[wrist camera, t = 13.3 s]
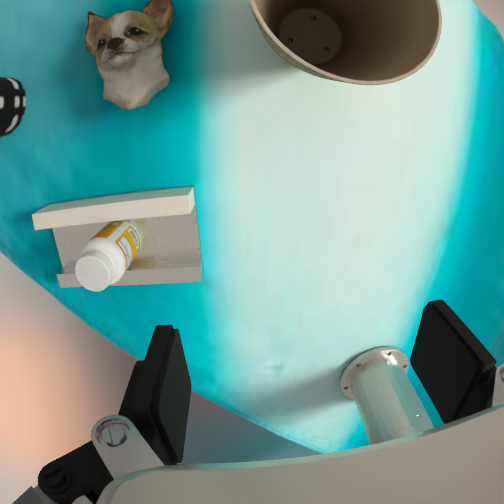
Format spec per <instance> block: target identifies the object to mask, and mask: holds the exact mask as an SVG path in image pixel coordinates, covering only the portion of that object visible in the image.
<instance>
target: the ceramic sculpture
mask: <svg viewBox="0 0 504 504" xmlns="http://www.w3.org/2000/svg"><path fill="white" fill-rule="evenodd" d="M173 12H174V10H173V5H172V2H171V0H150V1H149V2H148V3H147V4H146V6H145V7H144V9H143V13H141V12H139V11H136V10H127V11H123V12H119V13H116V14H114V15H112V16H111V17H109V18H105V17H102V16H99V15H96V14H94V13H93V12H91V11H89V12H88V27H87V31H86V36H85V43H86V45H87V46H86V48H87V50H88V51H89V52H90V53H91V54H92V55H94V56H96V63H97V67H98V72H99V73H100V74H101V77H102V79H103V80H104V91H103V99H105V100H108V101H110V102H112V103H114V104H116V105H117V106H119V107H120V108H123V109H126V110H131V109H135V108H137V107H141V106H144V105H146V104H148V103H149V102H150V100H151V99H152V97H153V96H154V95H155V94H156V93H158V92H159V91H161V90H162V89H163V88H165V87H166V86H167V85H168V83H169V79H170V76H169V74H168V73H167V71H166V70H165V68H164V65H163V61H162V53H163V52H162V46H161V42H160V41H161V39H162V38H163V36H164V35H165V34H166V33H167V31H168V30H169V28H170V26H171V24H172V19H173Z"/></svg>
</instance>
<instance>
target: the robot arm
mask: <svg viewBox="0 0 504 504" xmlns="http://www.w3.org/2000/svg"><path fill="white" fill-rule="evenodd" d="M410 362H411V366H412V367H413V369H414V371H415V372H416V374H417V376H418V378H419V379H420V381H421V383H422V385H423V386H424V388H425V390H426V392H427V393H428V395H429V397H430V399H431V401H432V402H433V404H434V406H435V408H436V410H437V411H438V413H439V415H440V417H441V419H442V421H443V422H444V423H445V424H444V425H441V426H438V427H435V428H434V426H433V424H432V422H431V420H430V418H429V416H428V415H427V413H426V411H425V409H424V407H423V405H422V403H421V401H420V399H419V397H418V396H417V394H416V392H415V390H414V388H413V386H412V384H411V383H410V381H409V379H408V377H407V375H406V373H407V371H408V366H409V364H408V359H407V357H406V355H405V354H404V352H403V351H401V350H400V349H398V348H395V347H378V348H375V349H372V350H369V351H367V352H365V353H363V354H361V355H360V356H358V357H357V358H355V359H354V360H353V361H352V362H351V363H350V364H349V365H348V366H347V367H346V369H345V370H344V371H343V373H342V375H341V379H340V387H341V390H342V392H343V394H344V395H345V396H346V397H347V398H349V399H351V400H354V401H355V402H356V405H357V408H358V411H359V413H360V416H361V419H362V422H363V425H364V428H365V431H366V433H367V436H368V439H369V442H370V445H369V446H364V447H359V448H354V449H349V450H344V451H339V452H333V453H327V454H320V455H314V456H306V457H299V458H290V459H281V460H270V461H256V462H241V463H217V464H181V465H177V463H181V462H182V459H183V450H184V442H185V433H186V425H187V418H188V410H189V402H190V395H191V380H190V376H189V372H188V368H187V364H186V360H185V355H184V351H183V347H182V343H181V338H180V334H179V330H178V329H174V328H173V326H172V325H157V326H156V327H155V330H154V333H153V336H152V339H151V342H150V345H149V348H148V351H147V354H146V357H145V360H144V361H137V362H136V364H135V366H134V369H133V372H132V375H131V378H130V381H129V384H128V387H127V389H126V392H125V396H124V399H123V401H122V405H121V408H120V411H119V414H118V415H110V416H107V417H104V418H102V419H100V420H99V421H98V422H97V423H96V424H95V425H94V427H93V429H92V431H91V438H92V440H91V441H90V442H88V443H86V444H84V445H82V446H81V447H79V448H77V449H75V450H73V451H71V452H70V453H68V454H66V455H64V456H62V457H60V458H58V459H56V460H54V461H52V462H50V463H48V464H47V465H45V466H44V467H43V468H42V470H41V471H40V473H39V476H38V485H37V486H36V487H35V488H33V487H32V486H31V487H30V488H28V489H27V490H26V491H25V492H24V493H23V494H22V495H21V496H20V497H19V498H18V499H17V500H16V501H14V502H13V503H12V504H504V364H502V365H500V366H499V367H498V368H496V367H495V364H496V362H497V361H496V360H495V359H494V358H493V356H492V355H491V354H490V353H489V352H488V350H487V349H486V348H485V347H484V346H483V344H482V343H481V342H480V341H479V340H478V339H477V337H476V336H475V335H474V334H473V333H472V332H471V330H470V329H469V328H468V327H467V326H466V325H465V324H464V323H463V321H462V320H461V319H460V318H459V317H458V316H457V315H456V314H455V313H454V311H453V310H452V309H451V308H450V307H449V306H448V305H447V304H446V303H445V302H444V301H443V300H436V301H430V302H428V304H427V306H425V307H424V310H423V314H422V318H421V322H420V325H419V329H418V333H417V337H416V340H415V344H414V347H413V351H412V354H411V358H410Z"/></svg>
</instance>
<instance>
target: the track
mask: <svg viewBox="0 0 504 504" xmlns="http://www.w3.org/2000/svg"><path fill="white" fill-rule="evenodd" d="M32 219H33V223H34V227H35V230H40V229H48V228H53V233H54V237H55V241H56V245H57V249H58V252H59V256H60V260H61V263H62V267H63V268H62V269H61V270H60V271H59V272H58V273H57V274H56V275H57V278H58V281H59V284H60V287H83V286H82V285H81V284H80V283H79V281H78V279H77V277H76V274H75V265H76V263H77V261H78V260H79V259H80V253H81V250H82V248H83V247H84V245H85V244H86V243H87V242H88V241H89V240H90V239H91V238H92V237H94V236H95V235H96V234H97V233H98V232H99V231H100V230H101V229H102V228H104V227H105V226H106V225H107V224H108V223H110V222H112V221H117V220H122V221H126V222H128V223H130V224H132V225H133V226H134V227H135V228H136V230H137V231H138V233H139V236H140V240H141V246H140V250H139V252H138V254H137V255H136V257H135V258H134V259H133V261H132V262H131V264H130V265H129V267H128V268H127V270H126V271H125V273H124V274H123V276H122V277H121V278H120V280H119V281H117V282H116V283H114V284H112V285H108V286H119V285H143V284H165V283H185V282H202V277H203V272H204V267H203V259H202V251H201V243H200V234H199V226H198V217H197V207H196V198H195V188H194V185H192V186H181V187H171V188H161V189H151V190H143V191H134V192H126V193H118V194H110V195H103V196H95V197H88V198H82V199H75V200H69V201H62V202H56V203H51V204H49V205H47V206H46V207H44V208H42V209H40V210H39V211H37V212H35V213H34V214H32Z"/></svg>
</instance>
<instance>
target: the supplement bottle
mask: <svg viewBox="0 0 504 504" xmlns="http://www.w3.org/2000/svg"><path fill="white" fill-rule="evenodd" d="M140 246H141V240H140V236H139V233H138V231H137V230H136V228H135V227H134V226H133V225H132V224H130V223H128V222H126V221H122V220H117V221H112V222H110V223H108V224H107V225H106V226H105V227H104V228H102V229H101V230H100V231H99V232H98V233H97V234H96V235H95V236H94V237H92V238H91V239H90V240H89V241H88V242H87V243H86V244H85V245H84V247H83V248H82V250H81V253H80V259H79V260H78V261H77V263H76V265H75V274H76V277H77V279H78V281H79V283H80V284H81V285H82V286H83V287H84V288H86V289H88V290H90V291H95V292H97V291H102V290H104V289H105V288H106V287H107V286H108V285H112V284H114V283H116V282H117V281H119V280H120V278H121V277H122V276H123V274H124V273H125V271H126V270H127V268H128V267H129V265H130V264H131V262H132V261H133V259H134V258H135V257H136V255H137V254H138V252H139V250H140Z"/></svg>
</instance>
